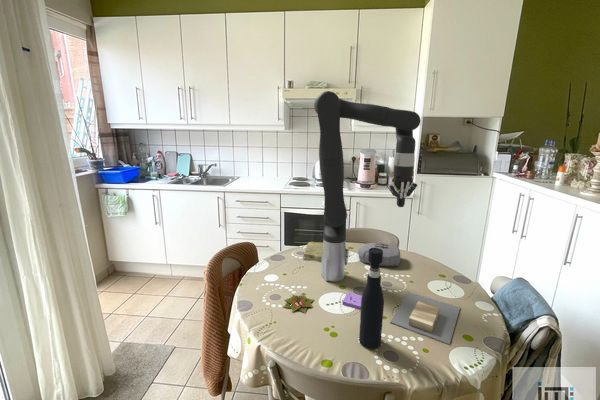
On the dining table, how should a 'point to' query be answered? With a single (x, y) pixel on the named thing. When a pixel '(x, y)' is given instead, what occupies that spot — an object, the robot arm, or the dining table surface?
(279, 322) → the dining table surface
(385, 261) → the small grey backpack
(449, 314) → the rubber mat
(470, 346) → the dining table surface
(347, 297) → the sponges
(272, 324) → the dining table surface
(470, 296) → the dining table surface
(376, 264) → the black water bottle
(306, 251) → the decorative tile
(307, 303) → the green leafy rosette
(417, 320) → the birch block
